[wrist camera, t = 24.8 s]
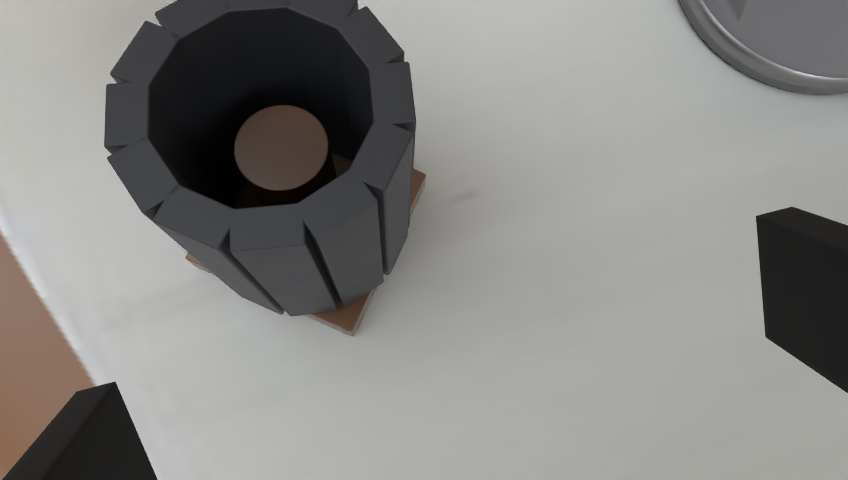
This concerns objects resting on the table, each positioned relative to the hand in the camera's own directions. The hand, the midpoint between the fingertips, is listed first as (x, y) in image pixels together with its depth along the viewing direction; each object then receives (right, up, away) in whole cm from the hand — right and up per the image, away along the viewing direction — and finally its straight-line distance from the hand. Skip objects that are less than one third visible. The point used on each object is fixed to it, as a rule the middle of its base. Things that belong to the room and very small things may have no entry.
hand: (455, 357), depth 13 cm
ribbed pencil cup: (-6, +4, +19) cm, 20 cm away
